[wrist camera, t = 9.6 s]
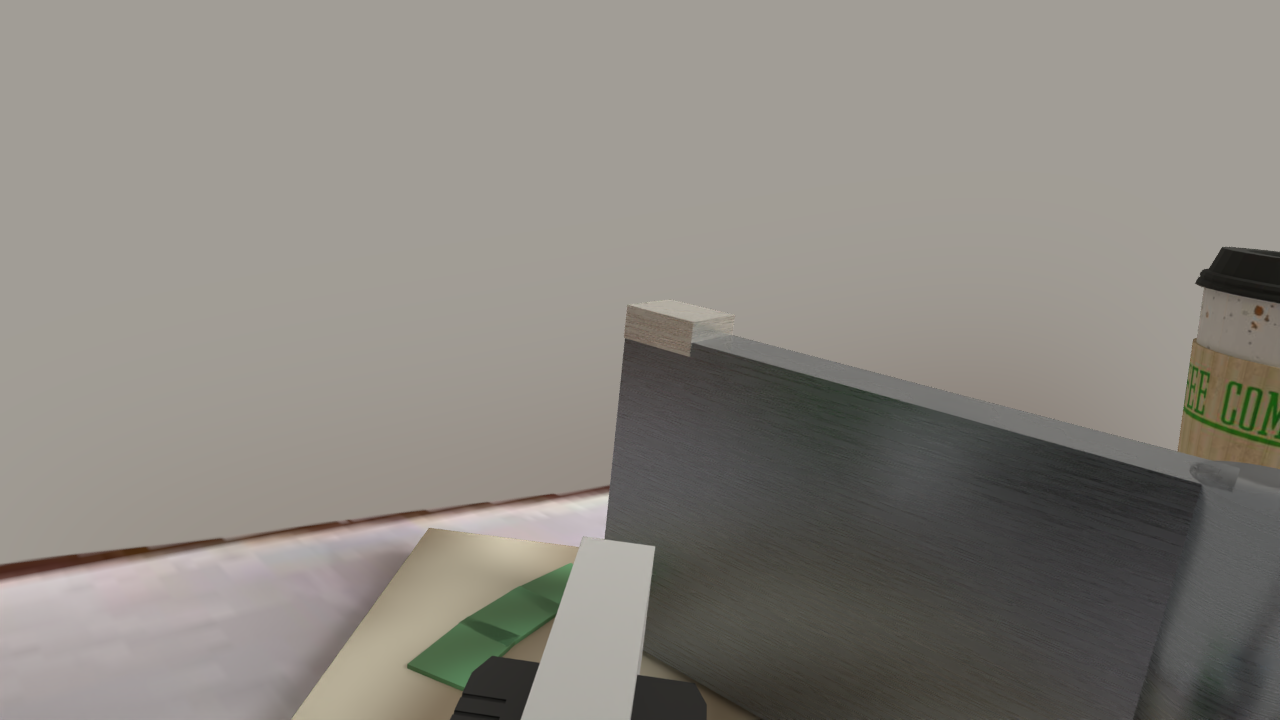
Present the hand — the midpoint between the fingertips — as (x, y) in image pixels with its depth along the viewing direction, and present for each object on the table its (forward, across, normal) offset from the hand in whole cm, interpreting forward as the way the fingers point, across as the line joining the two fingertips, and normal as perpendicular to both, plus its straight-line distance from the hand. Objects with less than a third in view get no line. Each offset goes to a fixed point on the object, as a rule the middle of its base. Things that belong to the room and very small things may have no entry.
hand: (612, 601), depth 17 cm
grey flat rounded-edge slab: (+4, +7, -6) cm, 10 cm away
